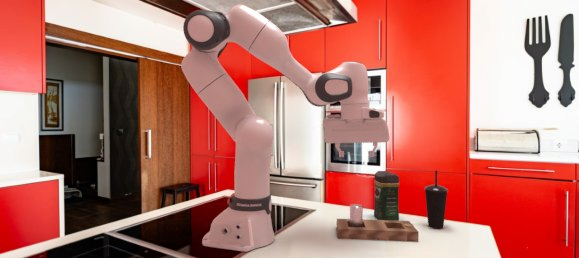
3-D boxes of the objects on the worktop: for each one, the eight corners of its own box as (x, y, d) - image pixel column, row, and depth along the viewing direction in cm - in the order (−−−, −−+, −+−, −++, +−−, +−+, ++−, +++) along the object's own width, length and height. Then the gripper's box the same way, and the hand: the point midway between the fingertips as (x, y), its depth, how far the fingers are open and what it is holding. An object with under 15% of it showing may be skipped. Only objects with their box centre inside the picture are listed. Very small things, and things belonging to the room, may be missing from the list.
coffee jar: (402, 224, 110) (402, 173, 109) (381, 225, 109) (381, 174, 108) (390, 216, 120) (390, 169, 119) (371, 217, 119) (371, 169, 118)
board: (338, 241, 94) (338, 228, 94) (336, 230, 104) (336, 217, 104) (418, 244, 92) (418, 230, 92) (409, 232, 102) (409, 220, 102)
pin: (350, 235, 97) (350, 207, 97) (349, 230, 101) (349, 204, 101) (363, 235, 97) (363, 207, 96) (361, 231, 101) (361, 204, 100)
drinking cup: (421, 222, 112) (422, 168, 112) (444, 223, 111) (444, 169, 110) (426, 229, 105) (427, 172, 104) (450, 231, 103) (451, 172, 102)
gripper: (320, 115, 96) (322, 158, 97) (388, 112, 90) (390, 158, 91) (324, 114, 102) (325, 155, 103) (388, 112, 96) (389, 155, 97)
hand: (356, 156), depth 97 cm, fingers open, 8 cm apart
